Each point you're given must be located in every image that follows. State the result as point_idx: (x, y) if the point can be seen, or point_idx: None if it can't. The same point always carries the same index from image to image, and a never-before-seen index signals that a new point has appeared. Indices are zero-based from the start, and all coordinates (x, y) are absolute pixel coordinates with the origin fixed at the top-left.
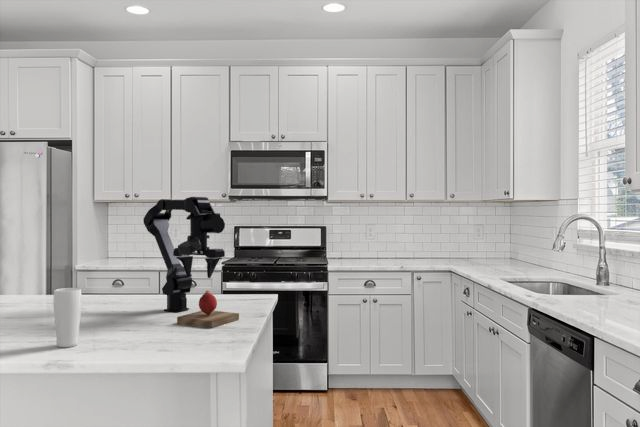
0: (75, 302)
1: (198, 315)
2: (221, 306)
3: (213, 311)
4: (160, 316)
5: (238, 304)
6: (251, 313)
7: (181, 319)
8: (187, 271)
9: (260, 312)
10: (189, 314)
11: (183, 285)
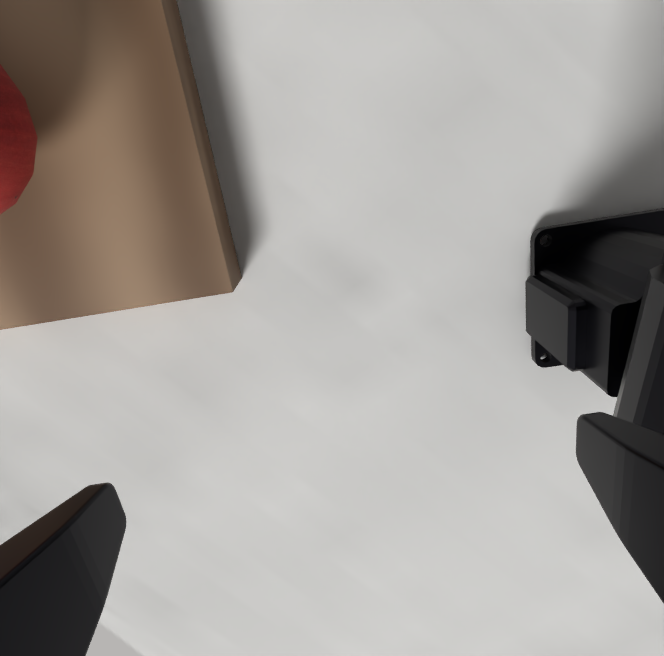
0: None
1: (42, 61)
2: (422, 552)
3: (116, 279)
4: (541, 31)
5: (380, 638)
6: None
7: None
8: (641, 465)
9: None
10: (145, 37)
11: (630, 366)
